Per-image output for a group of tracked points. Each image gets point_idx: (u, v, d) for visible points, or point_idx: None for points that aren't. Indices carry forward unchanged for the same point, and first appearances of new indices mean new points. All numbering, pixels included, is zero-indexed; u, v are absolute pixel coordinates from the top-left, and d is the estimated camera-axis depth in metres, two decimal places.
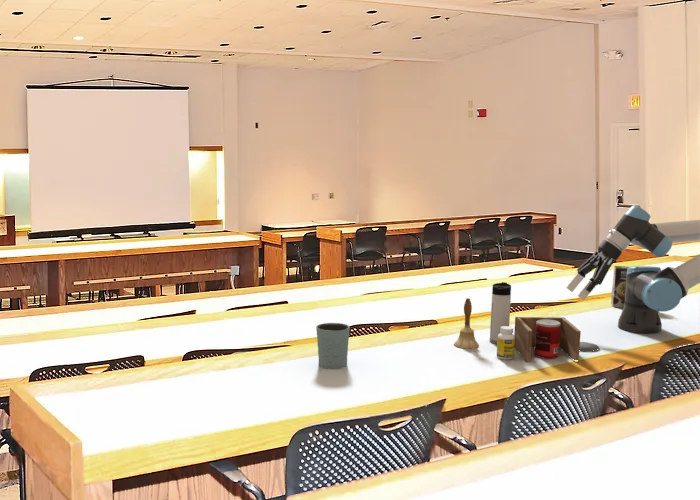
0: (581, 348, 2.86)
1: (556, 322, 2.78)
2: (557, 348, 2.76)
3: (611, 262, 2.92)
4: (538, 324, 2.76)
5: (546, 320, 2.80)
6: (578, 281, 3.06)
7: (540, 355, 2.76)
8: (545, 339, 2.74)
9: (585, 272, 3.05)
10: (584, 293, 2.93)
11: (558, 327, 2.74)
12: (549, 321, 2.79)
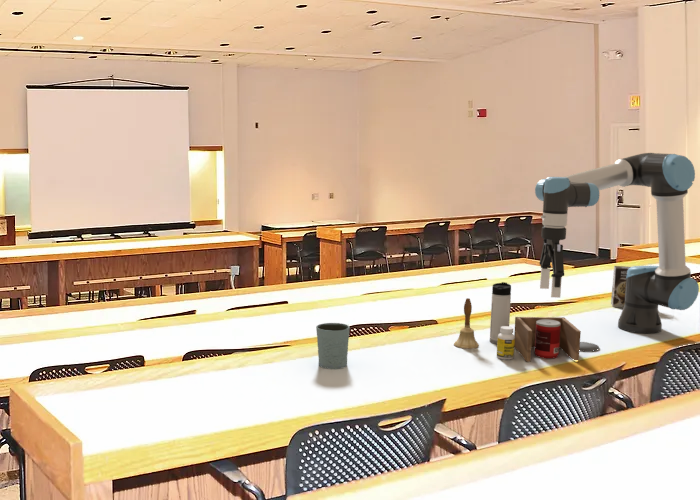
0: (581, 348, 2.86)
1: (556, 322, 2.78)
2: (557, 348, 2.76)
3: (560, 247, 2.66)
4: (538, 324, 2.76)
5: (546, 320, 2.80)
6: (547, 275, 2.81)
7: (540, 355, 2.76)
8: (545, 339, 2.74)
9: (547, 263, 2.80)
10: (556, 290, 2.68)
11: (558, 327, 2.74)
12: (549, 321, 2.79)
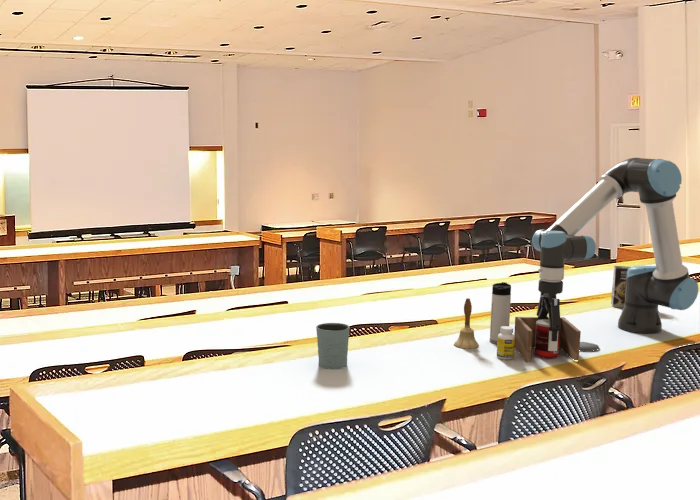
0: (581, 348, 2.86)
1: None
2: (557, 348, 2.76)
3: (557, 301, 2.69)
4: (538, 324, 2.75)
5: (546, 320, 2.80)
6: None
7: (540, 355, 2.76)
8: (545, 339, 2.74)
9: (544, 315, 2.83)
10: (553, 344, 2.71)
11: None
12: None
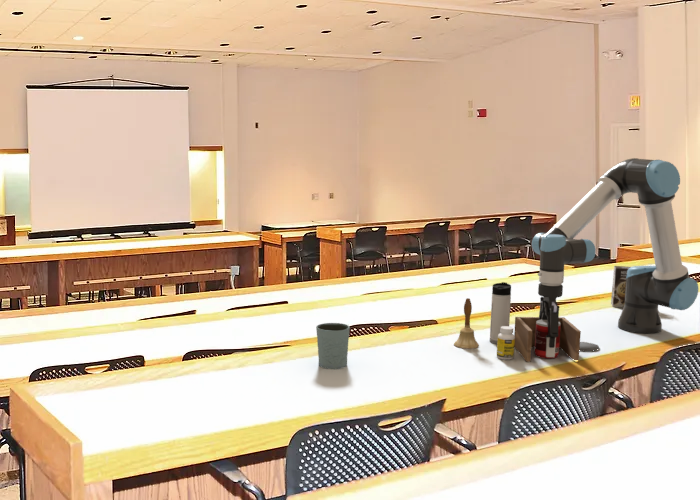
0: (581, 348, 2.86)
1: None
2: (557, 348, 2.76)
3: (557, 308, 2.69)
4: (538, 324, 2.75)
5: (546, 320, 2.80)
6: None
7: (540, 355, 2.76)
8: (545, 338, 2.74)
9: None
10: (550, 350, 2.74)
11: None
12: None
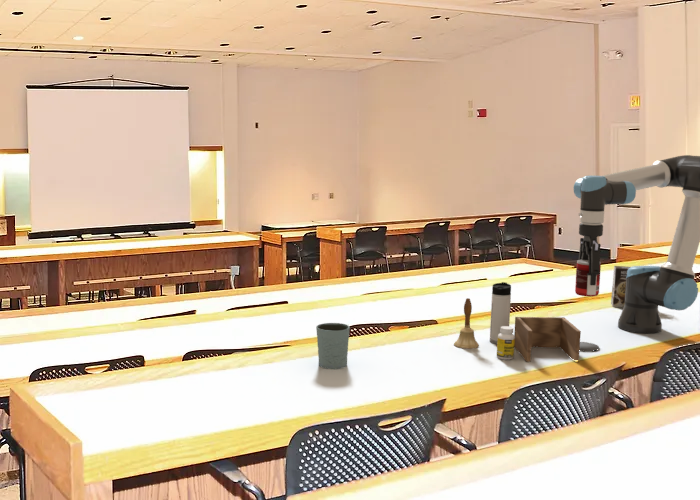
0: (581, 348, 2.86)
1: None
2: (598, 286, 2.83)
3: (598, 246, 2.77)
4: (579, 263, 2.83)
5: (586, 260, 2.88)
6: None
7: (581, 293, 2.83)
8: (586, 277, 2.82)
9: None
10: (591, 288, 2.81)
11: None
12: None
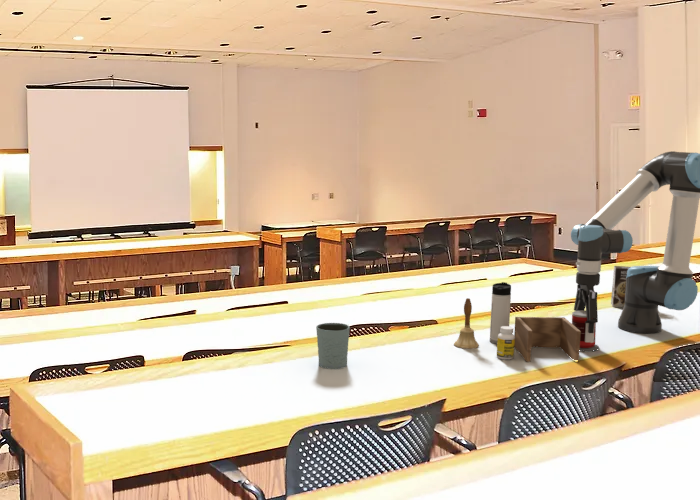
0: (581, 348, 2.86)
1: None
2: (594, 337, 2.86)
3: (595, 294, 2.79)
4: (574, 315, 2.86)
5: (581, 311, 2.90)
6: None
7: None
8: (581, 329, 2.84)
9: (582, 309, 2.92)
10: (589, 335, 2.82)
11: None
12: (584, 312, 2.89)
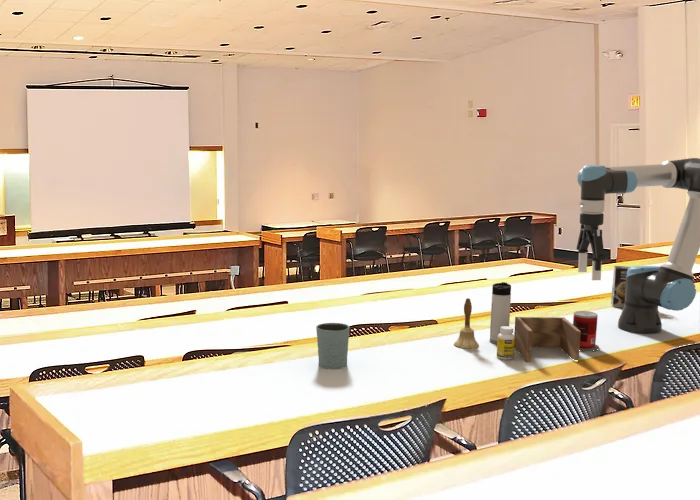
0: (581, 348, 2.86)
1: (593, 313, 2.88)
2: (594, 338, 2.86)
3: (600, 232, 2.79)
4: (576, 315, 2.86)
5: (583, 312, 2.90)
6: (585, 259, 2.94)
7: None
8: (582, 329, 2.84)
9: (585, 248, 2.93)
10: (596, 273, 2.81)
11: (595, 318, 2.85)
12: (586, 312, 2.89)
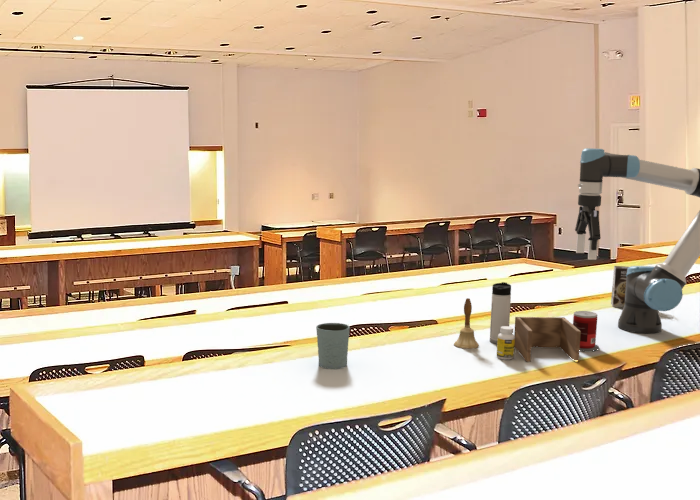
0: (581, 348, 2.86)
1: (593, 313, 2.88)
2: (594, 338, 2.86)
3: (597, 212, 2.88)
4: (576, 315, 2.86)
5: (583, 312, 2.90)
6: (582, 240, 3.03)
7: None
8: (582, 329, 2.84)
9: (583, 229, 3.02)
10: (592, 253, 2.90)
11: (595, 318, 2.85)
12: (586, 312, 2.89)
